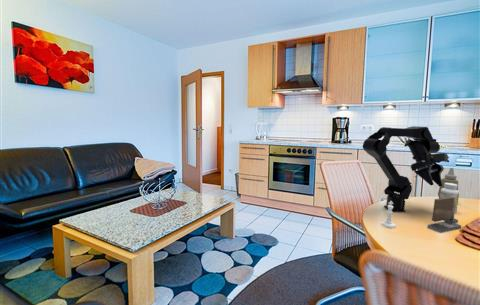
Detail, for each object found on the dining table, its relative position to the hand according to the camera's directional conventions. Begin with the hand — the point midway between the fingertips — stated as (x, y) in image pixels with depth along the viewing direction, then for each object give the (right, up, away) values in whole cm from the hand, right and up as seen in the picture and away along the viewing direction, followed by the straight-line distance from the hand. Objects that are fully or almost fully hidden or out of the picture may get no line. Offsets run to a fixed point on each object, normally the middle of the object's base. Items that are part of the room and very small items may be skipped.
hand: (436, 185), depth 107 cm
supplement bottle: (+13, -13, +10) cm, 21 cm away
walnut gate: (-1, -13, -5) cm, 14 cm away
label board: (-2, -15, -7) cm, 17 cm away
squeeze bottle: (+23, -12, +22) cm, 34 cm away
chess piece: (-26, -15, -8) cm, 31 cm away
